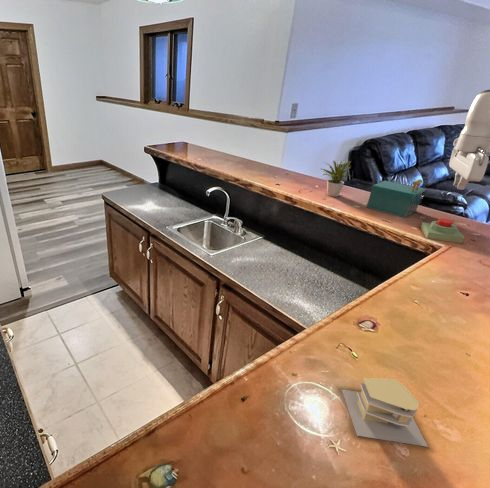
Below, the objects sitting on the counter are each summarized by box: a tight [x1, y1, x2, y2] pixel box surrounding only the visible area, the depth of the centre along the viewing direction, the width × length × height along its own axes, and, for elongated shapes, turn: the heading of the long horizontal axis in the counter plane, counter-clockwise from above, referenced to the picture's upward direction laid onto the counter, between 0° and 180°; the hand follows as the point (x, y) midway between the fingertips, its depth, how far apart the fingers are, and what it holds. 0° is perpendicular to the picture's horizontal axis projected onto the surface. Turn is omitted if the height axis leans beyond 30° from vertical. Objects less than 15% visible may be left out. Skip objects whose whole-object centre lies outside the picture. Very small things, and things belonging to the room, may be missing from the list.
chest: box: [366, 186, 423, 218], centre depth 143 cm, size 15×12×9 cm
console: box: [419, 220, 465, 244], centre depth 121 cm, size 10×10×4 cm
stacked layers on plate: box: [341, 377, 429, 448], centre depth 56 cm, size 10×9×6 cm
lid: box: [371, 178, 427, 196], centre depth 140 cm, size 15×12×5 cm
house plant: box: [320, 159, 352, 197], centre depth 160 cm, size 14×14×16 cm
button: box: [437, 218, 454, 227], centre depth 120 cm, size 4×4×2 cm
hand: (458, 187), depth 115 cm, fingers closed
